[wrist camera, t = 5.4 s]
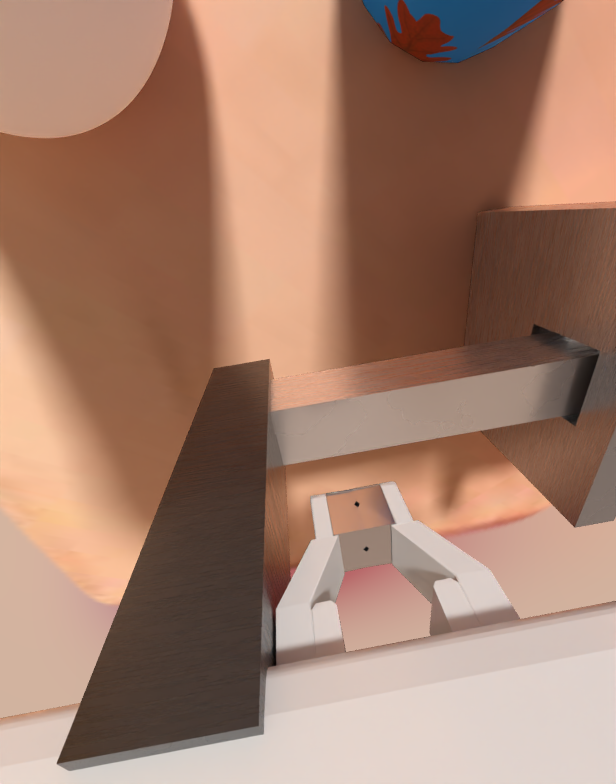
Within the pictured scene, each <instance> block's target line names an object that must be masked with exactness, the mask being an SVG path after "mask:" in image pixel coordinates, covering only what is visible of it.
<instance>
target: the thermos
mask: <svg viewBox="0 0 616 784" xmlns="http://www.w3.org/2000/svg"><path fill="white" fill-rule="evenodd" d="M362 1H363V4H364V6H365V7H366V9H367V10H368V12H369V13H370V14H371V16H372V17H373V19H374V20H375V21H376V23H377V24H378V26H379V27H380V28H381V30H382V31H383V33H384V34H385V35H386V37H387V38H388V40H389V41H390V42H391V43H393V44H394V45H396V46H398V47H399V48H401V49H403V50H404V51H406V52H408V53H409V54H411V55H413V56H414V57H416V58H418V59H419V60H421V61H424V62H450V63H459V62H461V61H463V60H465V59H468V58H470V57H472V56H474V55H477V54H479V53H481V52H483V51H485V50H488V49H490V48H492V47H494V46H496V45H497V44H499V43H500V42H502V41H503V40H505V39H507V38H508V37H510V36H511V35H513V34H514V33H516V32H517V31H519V30H520V29H522V28H523V27H525V26H526V25H528V24H529V23H531V22H533V21H534V20H536V19H537V18H539V17H540V16H542V15H543V14H545V13H546V12H548V11H549V10H551V9H552V8H554V7H555V6H557V5H558V4H559V3H561V2H562V1H563V0H362Z"/></svg>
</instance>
